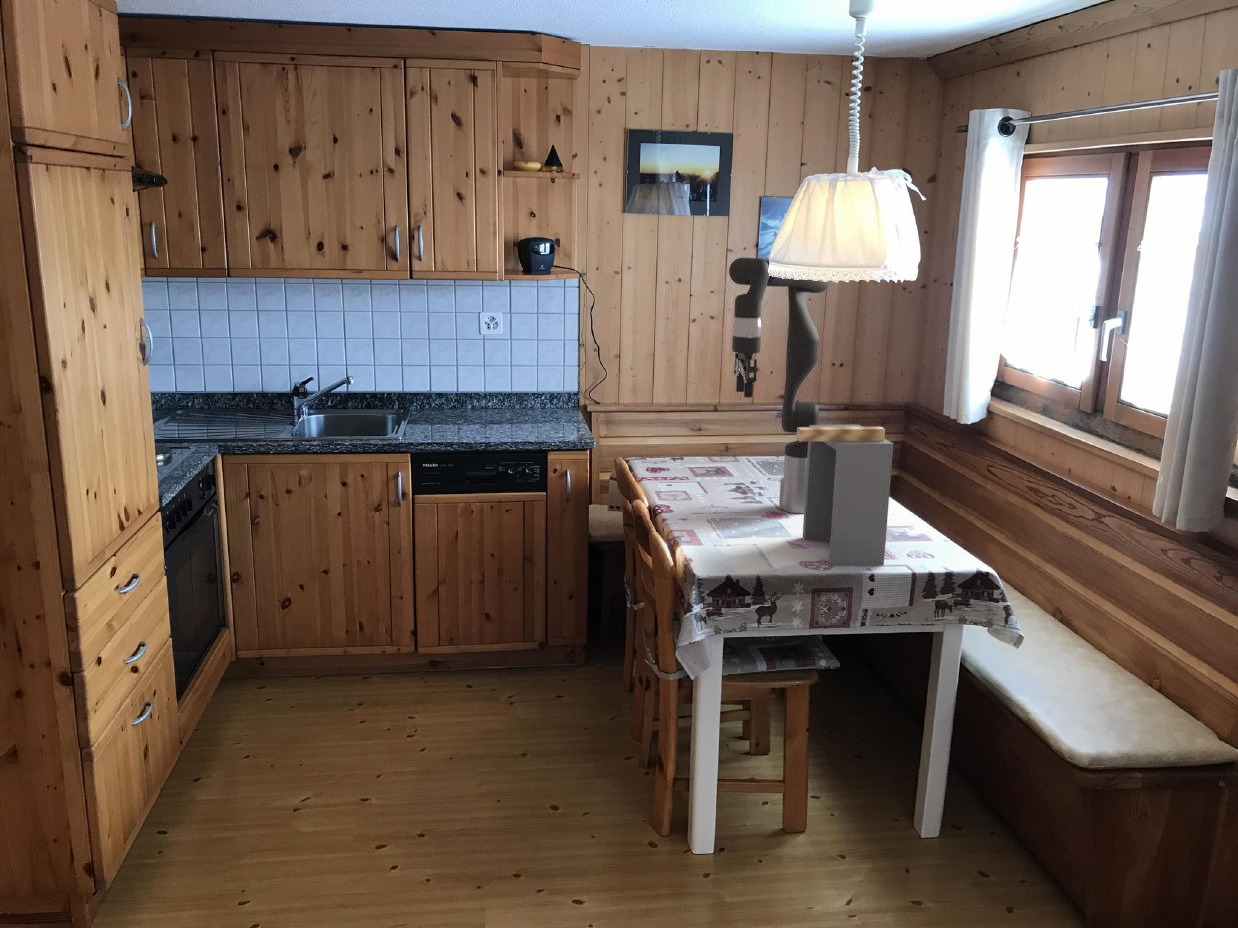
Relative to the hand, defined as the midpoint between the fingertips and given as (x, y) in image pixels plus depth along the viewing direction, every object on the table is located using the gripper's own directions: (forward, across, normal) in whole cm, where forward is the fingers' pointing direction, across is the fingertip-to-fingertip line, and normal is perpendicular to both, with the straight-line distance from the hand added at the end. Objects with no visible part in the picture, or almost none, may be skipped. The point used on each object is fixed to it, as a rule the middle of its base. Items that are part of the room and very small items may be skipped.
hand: (744, 394), depth 272 cm
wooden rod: (+8, +22, +20) cm, 30 cm away
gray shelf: (+40, +15, +25) cm, 49 cm away
